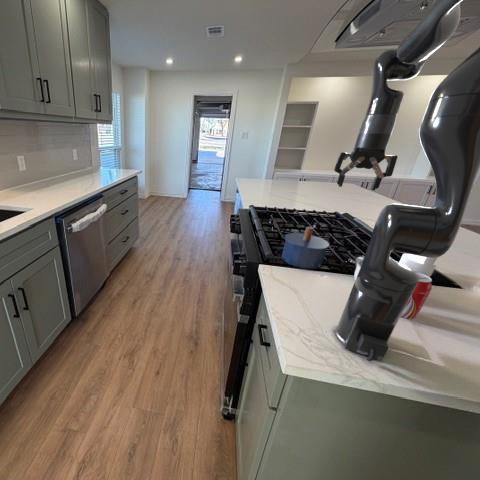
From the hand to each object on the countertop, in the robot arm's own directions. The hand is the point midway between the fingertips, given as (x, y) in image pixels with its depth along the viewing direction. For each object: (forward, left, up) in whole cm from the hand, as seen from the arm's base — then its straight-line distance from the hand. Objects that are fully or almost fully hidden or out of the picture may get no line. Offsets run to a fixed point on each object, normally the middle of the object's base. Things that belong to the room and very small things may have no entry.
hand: (356, 188), depth 79 cm
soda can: (-17, -16, -30) cm, 38 cm away
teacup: (-4, -11, -30) cm, 32 cm away
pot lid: (+3, +9, -22) cm, 24 cm away
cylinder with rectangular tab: (+14, -27, -30) cm, 43 cm away
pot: (+3, +9, -30) cm, 32 cm away
